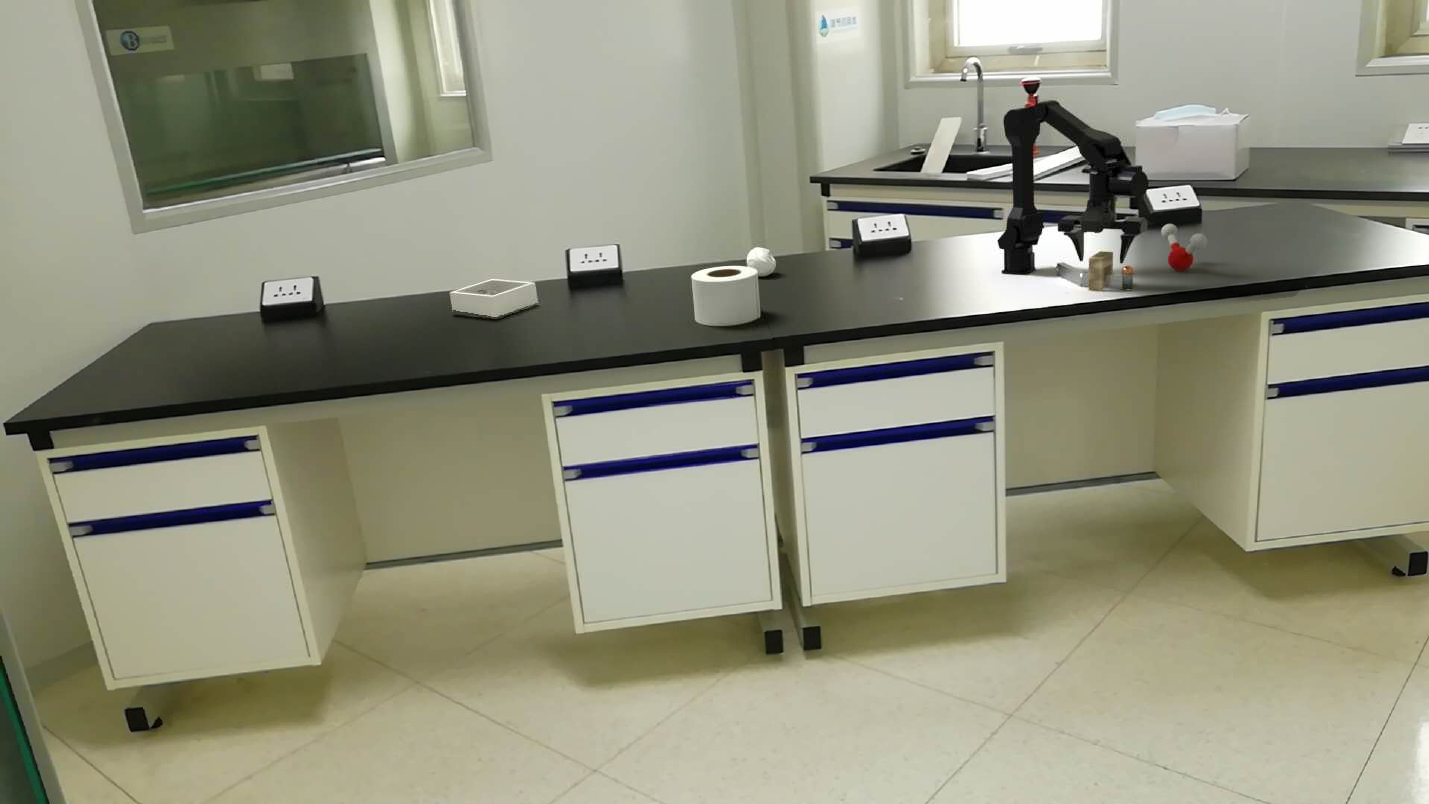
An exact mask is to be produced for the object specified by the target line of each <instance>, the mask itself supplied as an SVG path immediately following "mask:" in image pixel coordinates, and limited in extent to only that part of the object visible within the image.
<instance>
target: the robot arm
mask: <svg viewBox="0 0 1429 804" xmlns="http://www.w3.org/2000/svg"><path fill="white" fill-rule="evenodd" d="M1002 121H1003V129H1004V130H1003V131H1004V136H1005V138H1006V140H1007V141H1008V143H1009V145H1010V147H1011V160H1012V161H1011V165H1012V166H1011V167H1012V168H1011V169H1012V170H1011V171H1012V172H1011V173H1012V207H1011V209H1010V212H1009V214H1008V216H1007V218H1006V226H1005V230H1004V232H1003V233H1002V234H1001V236H999V238H998V239H997V246H998V248H999V250H1003V267H1004V268H1003V269H1002V270H1001V273H1002V274H1012V275H1013V274H1015V275H1027V274H1029V273H1031V272H1033V271H1035V270H1036V266H1035V262H1036V261H1035V260H1036V259H1035V258H1036V256H1035V254H1036V253H1035V252H1034V251H1033V250H1034V249H1033V248H1034V247H1033V246H1038V243H1039V240H1040V237H1041V236H1042V234H1043V229H1045V225H1044V212H1043V211H1039V210H1038V209H1037V207H1036V204H1035V181H1034V180H1035V178H1034V177H1035V175H1034V173H1035V172H1034V168H1035V167H1034V163H1035V162H1034V145H1035V143H1036V141H1037V138H1038V137H1039V134H1040V130H1041V124H1043V123H1045V124H1047V125H1049V126H1050V127H1052V128H1053V129H1055V131H1057V132H1058V133H1060V134H1061V135H1063V136H1064V137H1066V138H1067V139H1068V140H1069V141H1070V142H1072V143H1074V144H1075V146H1076V147H1077V148H1078V152H1079V154H1080V155H1081V157H1082V158H1083V159H1084V160H1085V161H1086V162H1087V165H1086V166H1085V167H1084V168H1083V169H1082V170H1081V174H1089V176H1088V177H1089V181H1088V183H1089V184H1088V186H1089V188H1088V193H1089V194H1088V200H1087V202H1086V208H1085V210H1084V211H1083V213H1082V214H1081V215H1065V216H1064V217H1062V218H1060V219H1059V221H1057V232H1059V233H1063V234H1062V235H1063V236H1067V237H1068V238H1069V239H1070V240H1071V242H1072V245H1073V247H1074V249H1075V252H1076V254H1077V257H1078V259H1079V262H1083V261H1084V258H1085V257H1084V255H1085V234H1086V233H1094V234H1099V233H1102V232H1103V231H1104V230H1121V231H1122V234H1121V235H1120V240H1121V241H1120V242H1121V243H1120V252H1119V264H1121V265H1122V264H1123V263H1124V261H1125V259H1126V257H1127V255H1128V252H1129V249H1130V247H1131V245H1132V243H1133V242H1134V239H1136V237H1138V236H1139V235H1142V234H1143V233H1145V232H1147V230H1148V223H1149V222H1148V220H1147V218H1145V217H1134V216H1133V217H1131V216H1130V217H1128V218H1126V219H1124V220H1117V219H1118V217H1117V216H1118V214H1116V213H1117V211H1116V209H1117V208H1116V207H1117V202H1118V197H1128V198H1135V199H1136V198H1137V199H1139V198H1142V197H1144V195H1145V194H1146V193H1147V191H1148V188H1149V184H1150V182H1149V179H1148V176H1147V174H1146V172H1144V171H1143V166H1142V165H1139V164H1138V165H1137V164H1136V165H1132V163H1131V162H1132V161H1130V159H1129V157H1128V156H1127V153H1126V151H1125V150H1124V148H1123V146H1122V142H1121V140H1120V139H1119V137H1117V136H1116V135H1113V134H1111V133H1109V132H1106V131H1103V130H1098V129H1095V128H1092V127H1091V126H1090V125H1089V124H1087V123H1086V122H1084V121H1083V120H1082V119H1080V118H1078V117H1077V116H1076V115H1074V113H1072V112H1070V111H1069V110H1067V109H1066V108H1064V107H1063V106H1062V105H1061V104H1060V103H1059V101H1057V100H1055V99H1050V100H1045V101H1039V102H1038V103H1036V104H1033V105H1031V106H1025V107H1019V108H1013V109H1009V110H1008V111H1007V112H1006V113H1005V114H1004V116H1003V120H1002Z"/></svg>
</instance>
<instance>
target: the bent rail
mask: <svg viewBox="0 0 1429 804" xmlns="http://www.w3.org/2000/svg"><path fill="white" fill-rule="evenodd" d="M1055 273H1056V276H1058V277H1060V278H1061V279H1064V280H1066V281H1068V282H1071V283H1073V284H1074V285H1077V286H1078V287H1083V288H1089V272H1086V271H1084V270H1082V269H1079V268H1077V267H1075V266H1072V265H1070V264H1068V263H1066V262H1057V263H1056V267H1055ZM1120 273H1121V274H1115V273H1113V274H1104V286H1103V289H1109V288H1111V289H1112V290H1122V289H1131V290H1133V287H1134V273H1135V272H1134V268H1133V266H1130V265H1124V266H1123V267H1122V268H1121V272H1120Z"/></svg>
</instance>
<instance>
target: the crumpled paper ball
mask: <svg viewBox="0 0 1429 804" xmlns="http://www.w3.org/2000/svg"><path fill="white" fill-rule="evenodd" d="M776 265H777V261H776V259H775V258H774V256H773V255H772V254H771V253H770V250H769V249H767V248H764V247H754V248H753V249H751V250H750V251H749V253H747V257H746V267H751V268H754V269H756V270H757V272H758V277H767V276H769V275H770V274H771V275H772V273H773V272H774V271H775V269H776Z"/></svg>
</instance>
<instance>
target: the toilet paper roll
mask: <svg viewBox="0 0 1429 804" xmlns="http://www.w3.org/2000/svg"><path fill="white" fill-rule="evenodd" d="M690 277H691V288H692V298H693V300H692V301H693V308H694V310H693V311H694V320H695V322H696V323H697V324H699V325H704V326H711V327H729V326H738V325H743V324H747V323H751V322H753V321H755V320H757V319H760V317H761V304H760V290H759V289H760V288H759V287H760V286H759V276H758V272H757V270H756V269H754V268H751V267H747V266H745V265H744V266H743V265H728V266H727V265H726V266H725V265H724V266H715V267H710V268H705V269H701V270H698V271H696V272H694V273H693V274H691V276H690Z"/></svg>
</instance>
